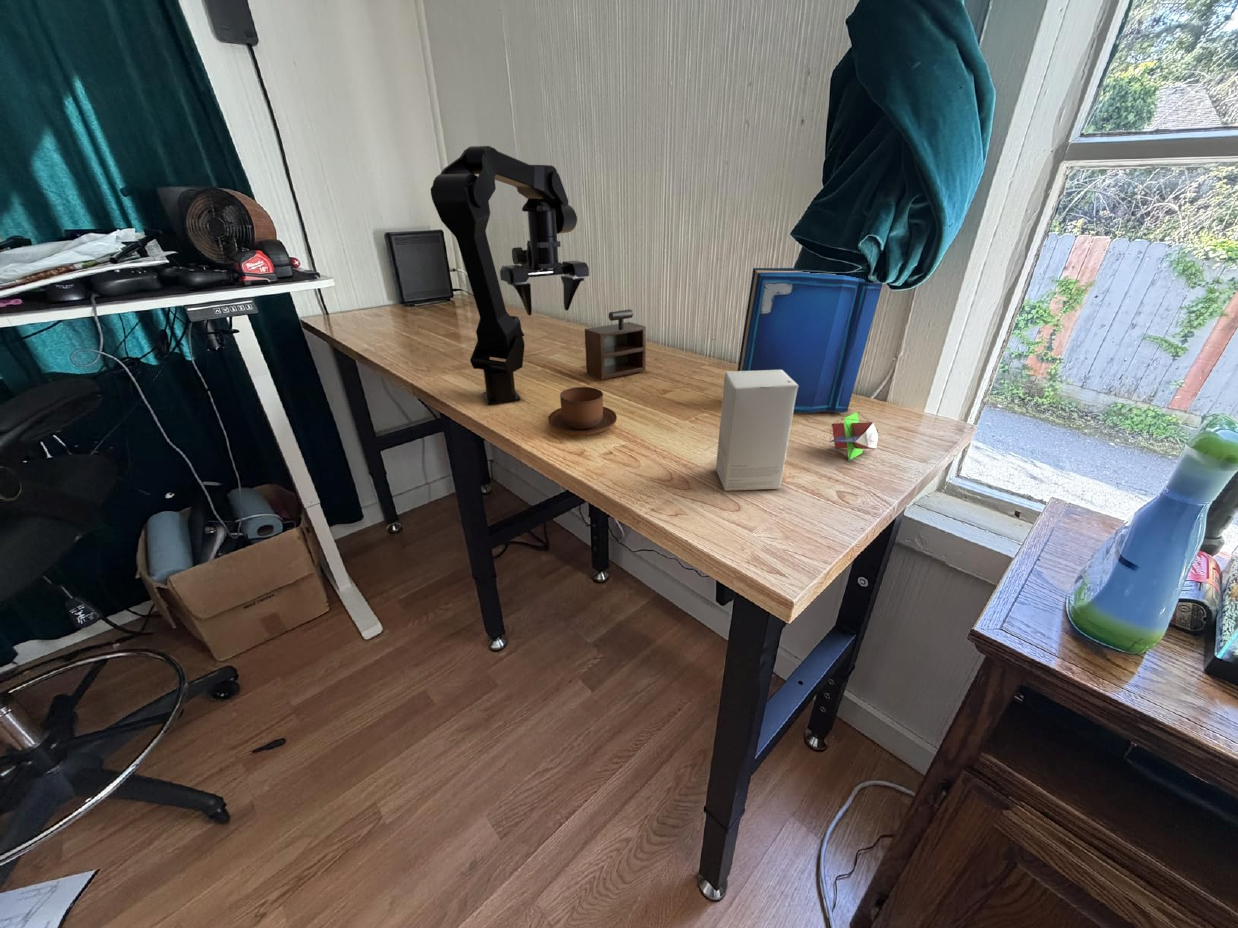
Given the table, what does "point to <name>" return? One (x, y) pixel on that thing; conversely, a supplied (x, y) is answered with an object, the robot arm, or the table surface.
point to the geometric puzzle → (854, 435)
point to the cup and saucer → (582, 412)
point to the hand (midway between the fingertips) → (548, 312)
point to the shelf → (615, 347)
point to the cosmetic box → (754, 428)
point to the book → (809, 332)
